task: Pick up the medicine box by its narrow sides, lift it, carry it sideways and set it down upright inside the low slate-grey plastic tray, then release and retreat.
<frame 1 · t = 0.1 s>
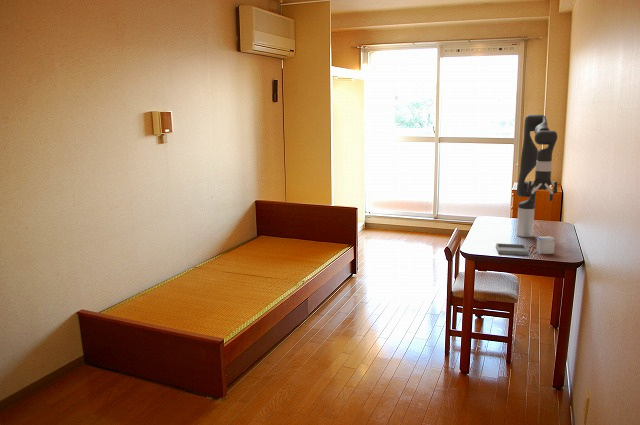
hand: (541, 201, 273), 29 cm above the table, fingers open, 8 cm apart
tray: (511, 251, 286), on the table
medicine box: (544, 253, 282), on the table
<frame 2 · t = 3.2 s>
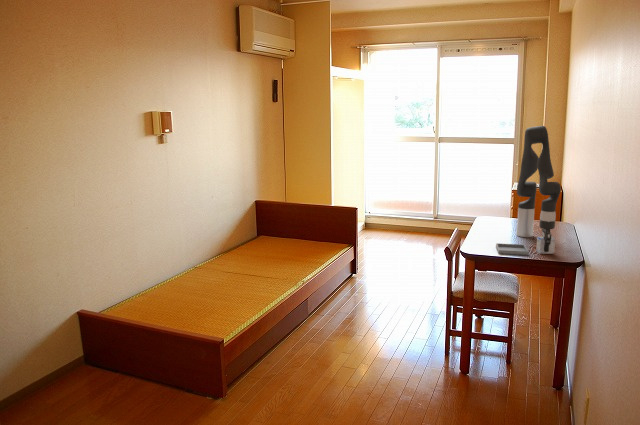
hand: (545, 250, 282), 2 cm above the table, fingers closed on medicine box, 5 cm apart
medicine box: (544, 253, 282), on the table, touching gripper
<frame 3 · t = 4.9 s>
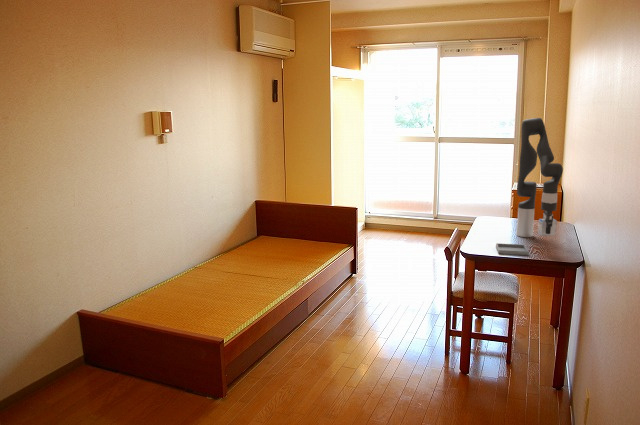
hand: (546, 232, 280), 11 cm above the table, fingers closed on medicine box, 5 cm apart
medicine box: (546, 235, 281), point 10 cm above the table, touching gripper
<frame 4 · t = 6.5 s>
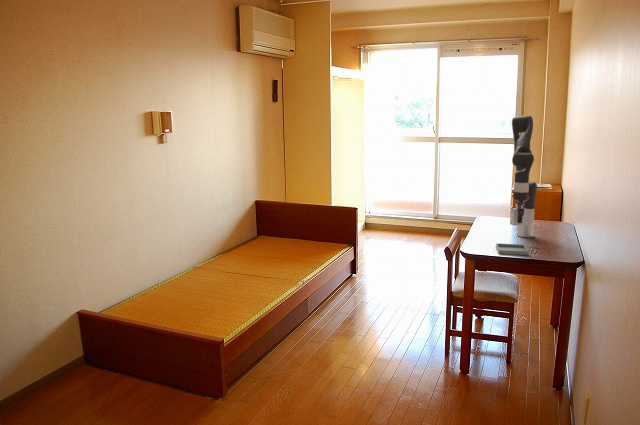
hand: (518, 221, 282), 17 cm above the table, fingers closed on medicine box, 5 cm apart
medicine box: (518, 225, 282), point 15 cm above the table, touching gripper
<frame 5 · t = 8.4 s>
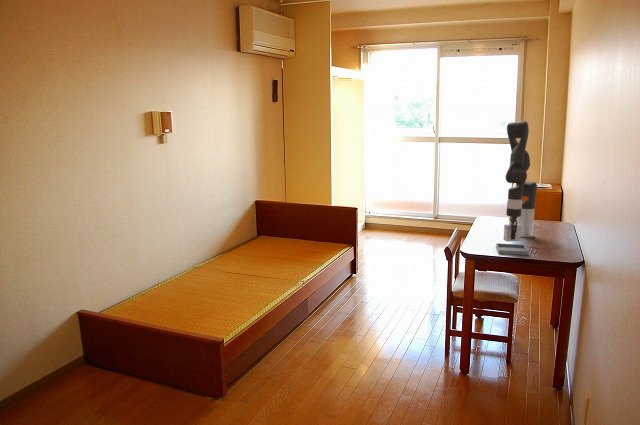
hand: (512, 237, 285), 7 cm above the table, fingers closed on medicine box, 5 cm apart
medicine box: (511, 241, 285), point 6 cm above the table, touching gripper
when the fingers open (4 cm above the table, at t = 10.0 s): medicine box drops 1 cm, resting on tray.
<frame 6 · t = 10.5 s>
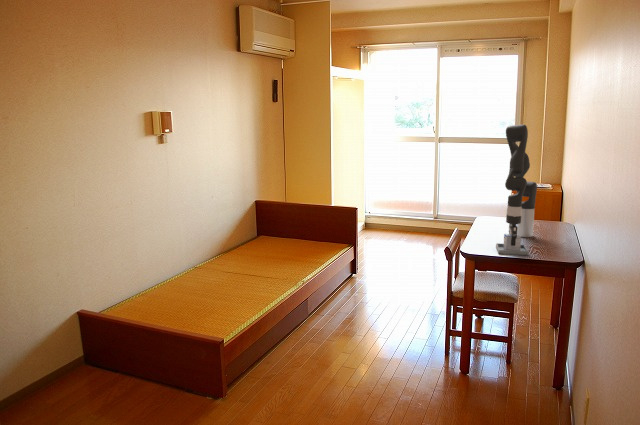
hand: (512, 243, 285), 4 cm above the table, fingers open, 8 cm apart
medicine box: (511, 250, 286), resting on tray
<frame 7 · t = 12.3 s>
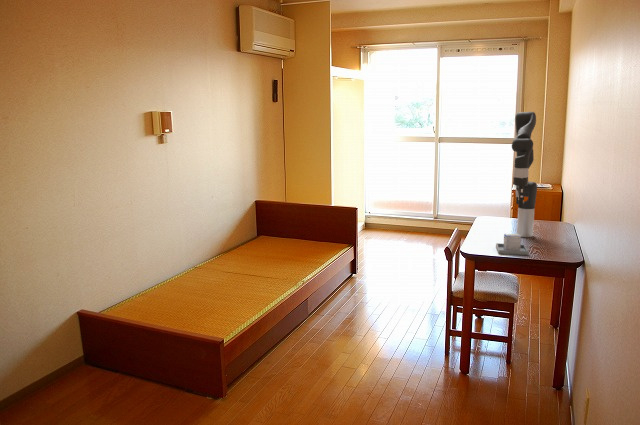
hand: (519, 205, 286), 24 cm above the table, fingers open, 8 cm apart
nothing on the table moved.
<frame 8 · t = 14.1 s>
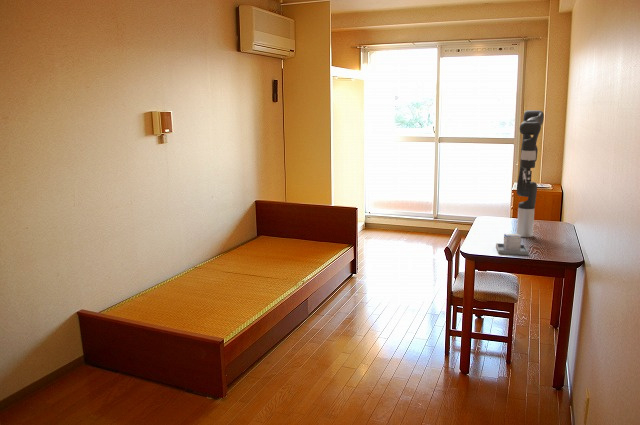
hand: (526, 188, 290), 33 cm above the table, fingers open, 8 cm apart
nothing on the table moved.
at the end: medicine box inside the target area on the tray (0.1 cm from its centre), point 0.4 cm above the tray's base; medicine box tilted 0°; the gripper is holding nothing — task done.
